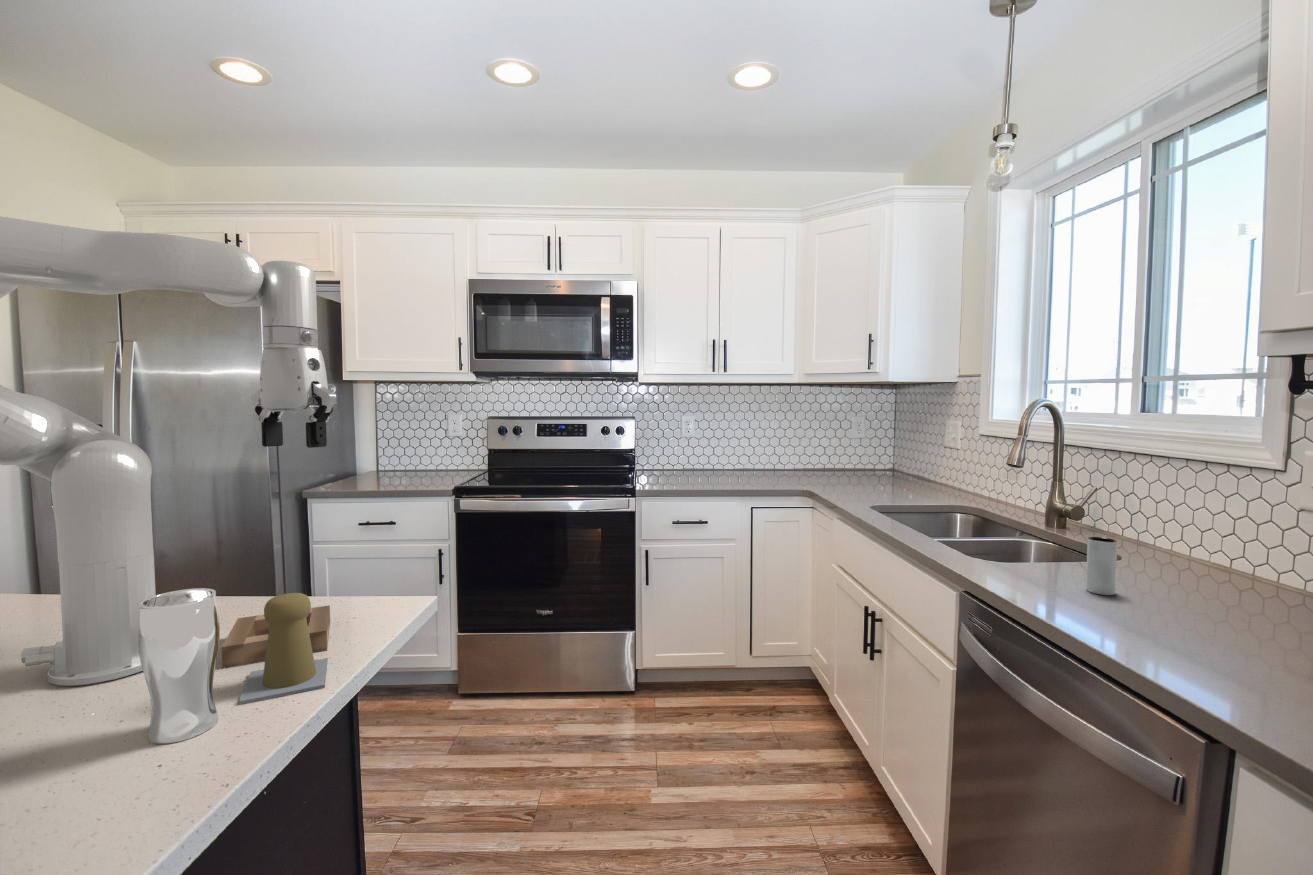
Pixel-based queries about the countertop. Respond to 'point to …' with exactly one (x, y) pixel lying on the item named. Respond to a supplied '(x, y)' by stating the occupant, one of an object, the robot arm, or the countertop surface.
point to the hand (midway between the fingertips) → (294, 446)
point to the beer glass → (179, 662)
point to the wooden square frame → (252, 637)
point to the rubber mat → (259, 692)
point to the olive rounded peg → (288, 642)
